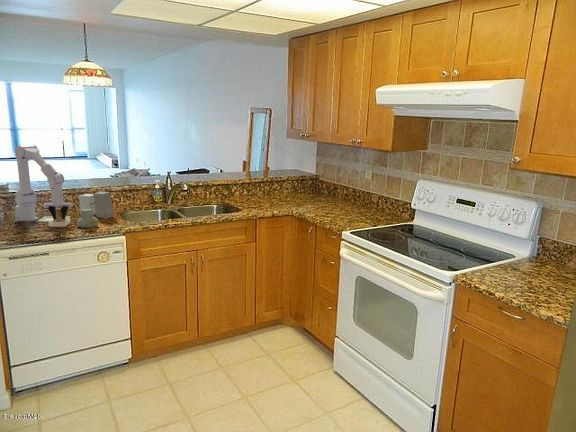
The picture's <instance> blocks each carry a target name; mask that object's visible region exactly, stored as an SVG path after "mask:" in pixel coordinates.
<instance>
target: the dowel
mask: <svg viewBox="0 0 576 432" xmlns="http://www.w3.org/2000/svg"><path fill="white" fill-rule="evenodd" d="M61 208H62V207H58V208H56V209H55V211H56V222H63V217H62V210H61Z"/></svg>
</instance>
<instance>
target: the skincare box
mask: <svg viewBox="0 0 576 432" xmlns="http://www.w3.org/2000/svg"><path fill="white" fill-rule="evenodd" d="M93 196H94V203H95V210H96V214H95V215H96V216H95V217H96V218H101V219H104V220H107V219H111V218H114V209H113V203H112V202H113V201H112V194H111V192H109V191H102V190H101V191H97V192H93Z"/></svg>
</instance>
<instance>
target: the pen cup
mask: <svg viewBox="0 0 576 432" xmlns="http://www.w3.org/2000/svg"><path fill="white" fill-rule="evenodd" d="M71 221H72V220H71V218H69V219H64V220H63V222H56V219H55V220H54V219H53V220H51V221H50V222H47V224H48V227H51V228H53V227H55V228H57V227H58V228H59V227H60V228H62V227H65V228H66V227H67V226H68V225H70V224H71V223H72V222H71Z"/></svg>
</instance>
